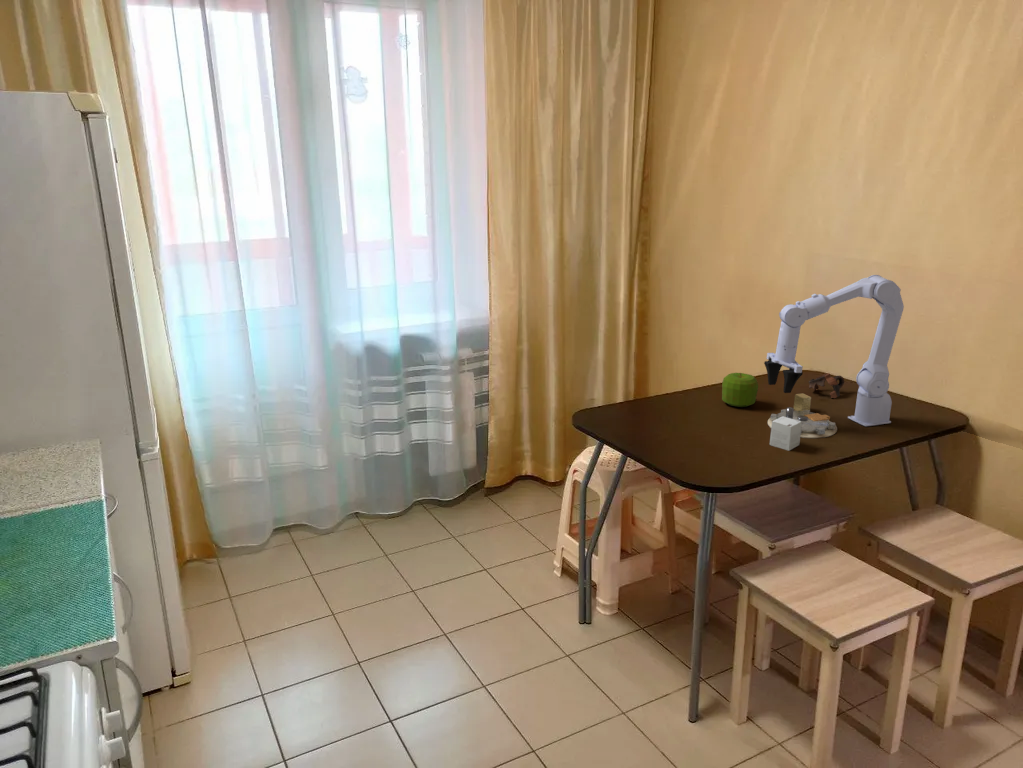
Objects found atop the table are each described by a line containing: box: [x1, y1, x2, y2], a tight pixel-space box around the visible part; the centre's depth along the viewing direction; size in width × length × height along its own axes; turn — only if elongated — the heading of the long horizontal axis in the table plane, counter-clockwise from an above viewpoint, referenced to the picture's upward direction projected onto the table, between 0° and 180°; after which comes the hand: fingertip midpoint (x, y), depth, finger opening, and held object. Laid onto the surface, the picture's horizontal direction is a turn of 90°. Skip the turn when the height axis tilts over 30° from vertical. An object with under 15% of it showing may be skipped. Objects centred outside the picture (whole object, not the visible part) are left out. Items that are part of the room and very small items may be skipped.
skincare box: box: [769, 416, 802, 451], centre depth 210 cm, size 6×6×7 cm
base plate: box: [767, 416, 838, 439], centre depth 225 cm, size 20×20×1 cm
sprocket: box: [770, 406, 836, 435], centre depth 224 cm, size 18×18×6 cm
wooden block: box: [793, 393, 812, 411], centre depth 237 cm, size 4×3×5 cm
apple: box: [721, 372, 759, 408], centre depth 242 cm, size 11×11×11 cm
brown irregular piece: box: [808, 372, 845, 399], centre depth 252 cm, size 12×10×8 cm
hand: (779, 388), depth 226 cm, fingers open, 7 cm apart
